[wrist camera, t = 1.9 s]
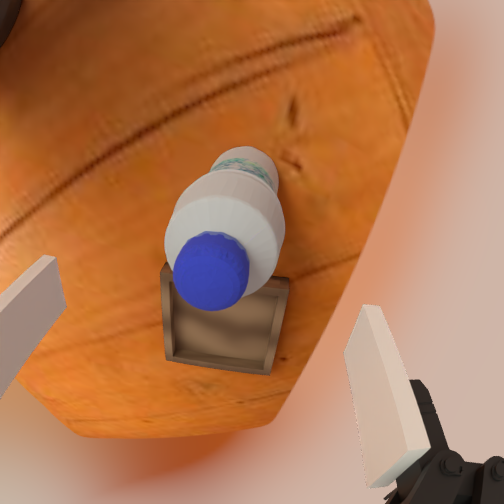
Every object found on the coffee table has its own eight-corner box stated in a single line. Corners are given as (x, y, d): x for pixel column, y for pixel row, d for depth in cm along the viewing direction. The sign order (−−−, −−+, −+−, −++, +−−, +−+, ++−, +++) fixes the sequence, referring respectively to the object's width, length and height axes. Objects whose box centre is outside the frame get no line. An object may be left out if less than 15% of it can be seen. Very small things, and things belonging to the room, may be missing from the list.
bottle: (208, 200, 32) (135, 332, 15) (216, 136, 29) (131, 200, 11) (273, 212, 32) (271, 358, 15) (286, 147, 29) (307, 230, 12)
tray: (166, 261, 36) (160, 272, 34) (288, 277, 36) (289, 289, 34) (170, 348, 42) (165, 360, 40) (270, 362, 42) (269, 375, 40)
